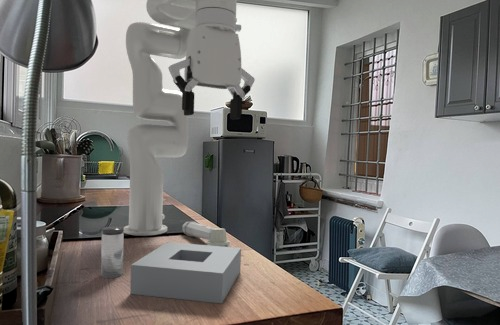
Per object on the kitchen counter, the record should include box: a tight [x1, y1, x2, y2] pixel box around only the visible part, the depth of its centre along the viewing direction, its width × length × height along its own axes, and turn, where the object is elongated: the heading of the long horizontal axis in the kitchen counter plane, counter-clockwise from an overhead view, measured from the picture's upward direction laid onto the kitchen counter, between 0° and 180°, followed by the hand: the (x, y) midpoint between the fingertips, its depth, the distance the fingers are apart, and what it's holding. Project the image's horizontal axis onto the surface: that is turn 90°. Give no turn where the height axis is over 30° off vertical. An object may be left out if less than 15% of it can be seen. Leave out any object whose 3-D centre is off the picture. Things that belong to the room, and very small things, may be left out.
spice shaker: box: [100, 225, 125, 279], centre depth 72 cm, size 4×4×9 cm
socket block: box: [130, 241, 242, 304], centre depth 69 cm, size 16×16×5 cm
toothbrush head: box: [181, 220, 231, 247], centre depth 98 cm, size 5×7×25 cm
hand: (212, 117), depth 69 cm, fingers open, 9 cm apart
